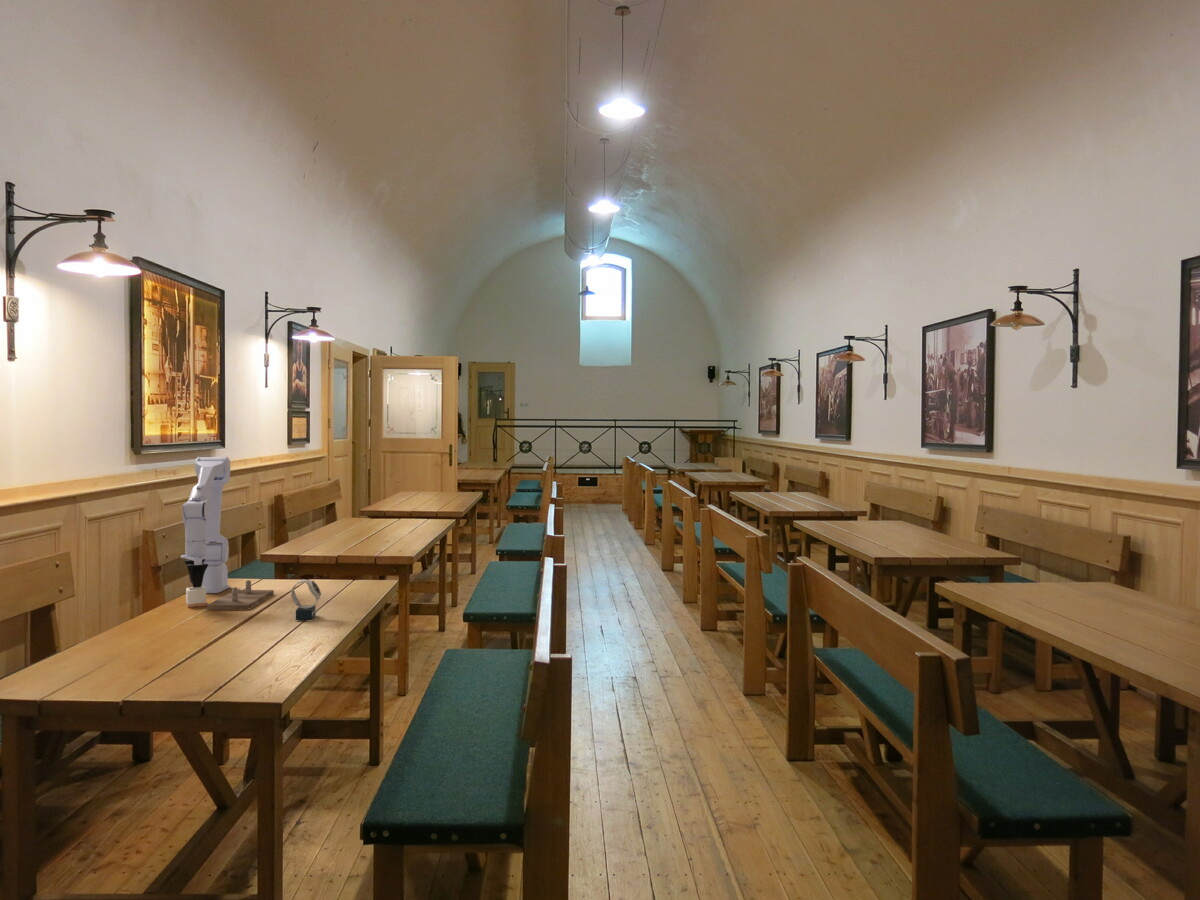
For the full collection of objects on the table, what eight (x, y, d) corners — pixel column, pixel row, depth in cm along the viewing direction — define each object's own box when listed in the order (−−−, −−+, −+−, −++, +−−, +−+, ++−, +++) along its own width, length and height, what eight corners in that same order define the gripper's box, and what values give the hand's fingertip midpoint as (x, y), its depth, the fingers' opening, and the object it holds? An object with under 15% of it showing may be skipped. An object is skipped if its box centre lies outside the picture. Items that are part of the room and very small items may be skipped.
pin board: (235, 594, 250) (235, 576, 250) (273, 594, 250) (273, 576, 250) (207, 609, 230) (207, 590, 230) (248, 610, 230) (248, 590, 230)
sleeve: (186, 604, 236) (186, 587, 236) (204, 602, 239) (204, 586, 239) (187, 607, 232) (187, 591, 232) (206, 605, 235) (206, 589, 235)
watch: (318, 620, 220) (318, 582, 220) (289, 621, 219) (289, 582, 218) (322, 615, 226) (322, 578, 225) (293, 616, 224) (293, 578, 224)
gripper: (179, 538, 239) (179, 581, 239) (182, 544, 226) (183, 590, 227) (204, 536, 242) (204, 579, 243) (209, 543, 230) (209, 588, 231)
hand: (196, 584), depth 235 cm, fingers open, 7 cm apart
